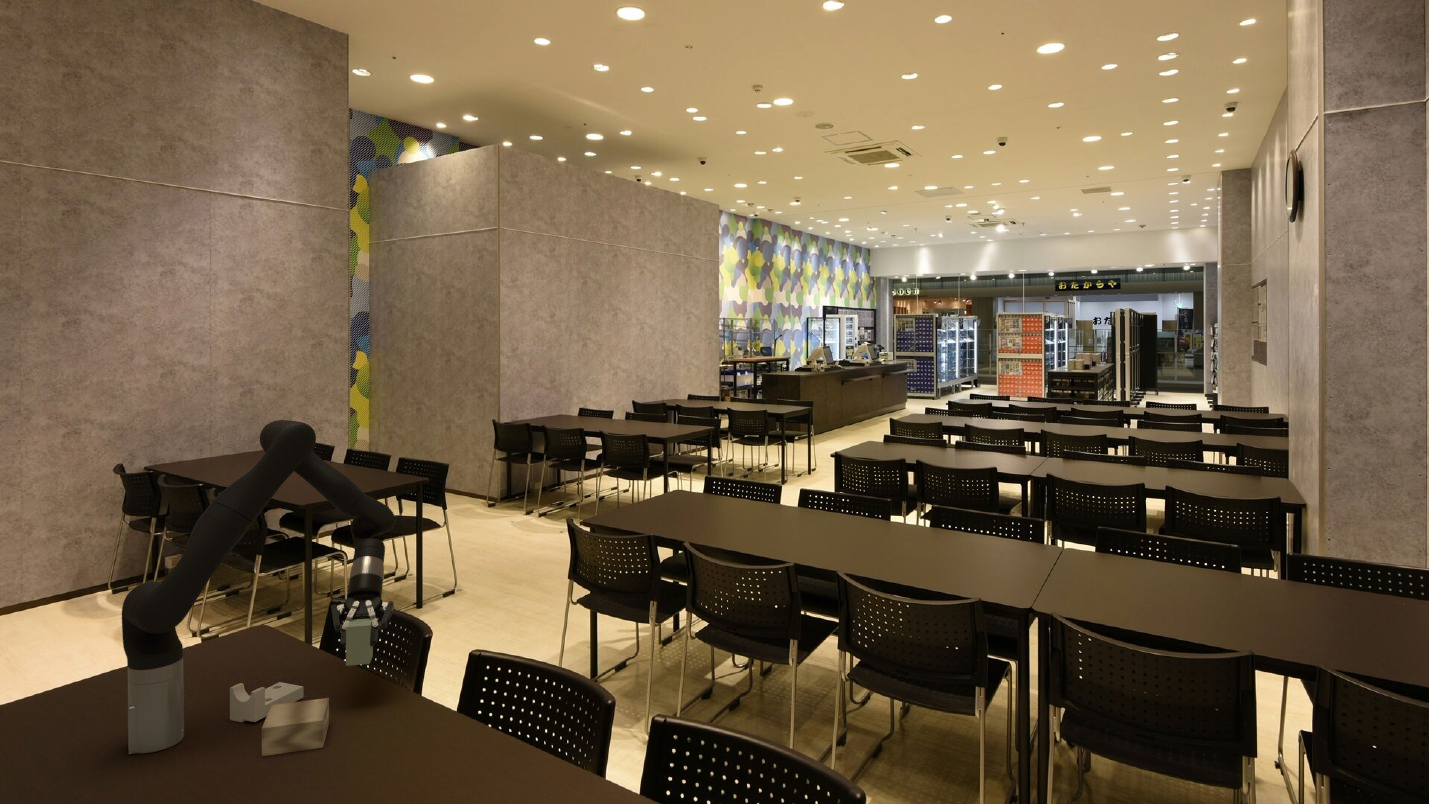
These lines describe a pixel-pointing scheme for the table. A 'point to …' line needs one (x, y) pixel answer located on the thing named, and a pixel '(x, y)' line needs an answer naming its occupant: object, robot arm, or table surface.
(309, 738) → the birch block
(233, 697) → the bracket
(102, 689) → the table surface
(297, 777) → the table surface
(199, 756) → the table surface
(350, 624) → the green prism
